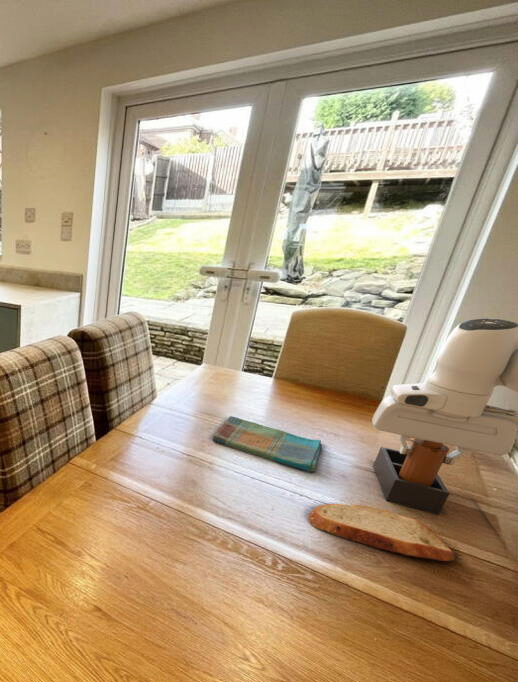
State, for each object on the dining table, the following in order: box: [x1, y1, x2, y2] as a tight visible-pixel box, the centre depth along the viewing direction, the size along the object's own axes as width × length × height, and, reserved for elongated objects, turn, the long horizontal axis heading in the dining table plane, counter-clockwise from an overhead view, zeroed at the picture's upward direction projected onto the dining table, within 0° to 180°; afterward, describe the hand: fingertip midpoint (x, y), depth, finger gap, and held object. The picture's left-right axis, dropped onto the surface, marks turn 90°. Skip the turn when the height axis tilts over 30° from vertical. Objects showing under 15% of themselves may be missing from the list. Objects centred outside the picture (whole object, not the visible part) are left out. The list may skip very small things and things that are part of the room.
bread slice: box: [307, 503, 455, 562], centre depth 76 cm, size 18×18×4 cm
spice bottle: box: [398, 438, 450, 487], centre depth 84 cm, size 5×5×13 cm
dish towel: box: [212, 415, 323, 473], centre depth 108 cm, size 17×23×2 cm
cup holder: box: [372, 446, 450, 516], centre depth 90 cm, size 8×16×6 cm, turn 147°
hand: (424, 458), depth 84 cm, fingers closed on spice bottle, 5 cm apart
